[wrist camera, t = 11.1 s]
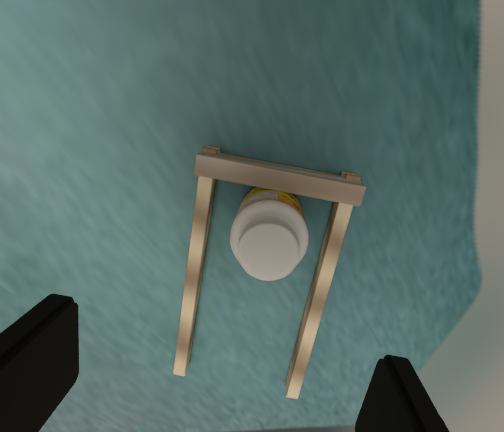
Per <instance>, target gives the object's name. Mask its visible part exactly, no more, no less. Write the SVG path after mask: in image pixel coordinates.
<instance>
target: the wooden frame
mask: <svg viewBox="0 0 504 432" xmlns="http://www.w3.org/2000/svg"><path fill="white" fill-rule="evenodd" d="M220 149H221V148H218V147H212V146H205V147H203V148H202V152H201V153H199V154H196V160H195V168H194V175H198V176H199V179H198V187H197V194H196V202H195V210H194V218H193V225H192V233H191V241H190V249H189V256H188V264H187V272H186V280H185V287H184V295H183V303H182V311H181V319H180V326H179V334H178V342H177V350H176V357H175V365H174V373H173V374H175V375H180V376H185V373H186V370H187V368H188V365H189V361H190V355H191V348H192V341H193V334H194V327H195V320H196V313H197V307H198V300H199V293H200V286H201V279H202V272H203V266H204V259H205V252H206V245H207V238H208V231H209V224H210V218H211V211H212V204H213V197H214V190H215V183H216V179H219V180H224V181H229V182H234V183H239V184H245V185H250V186H255V187H260V188H266V189H271V190H276V191H281V192H286V193H292V194H297V195H302V196H307V197H313V198H318V199H323V200H328V201H333V202H334V203H333V207H332V210H331V214H330V218H329V222H328V225H327V229H326V233H325V237H324V240H323V244H322V248H321V252H320V255H319V259H318V263H317V267H316V270H315V274H314V278H313V282H312V285H311V289H310V293H309V297H308V300H307V304H306V308H305V312H304V315H303V319H302V323H301V327H300V330H299V334H298V338H297V342H296V345H295V349H294V353H293V357H292V360H291V364H290V368H289V372H288V375H287V379H286V397H289V398H294V399H298V396H299V392H300V389H301V385H302V382H303V378H304V375H305V371H306V368H307V364H308V361H309V357H310V354H311V351H312V347H313V344H314V340H315V337H316V333H317V330H318V326H319V323H320V319H321V316H322V312H323V309H324V305H325V302H326V298H327V295H328V291H329V288H330V284H331V281H332V277H333V274H334V270H335V267H336V263H337V260H338V256H339V253H340V249H341V246H342V242H343V239H344V236H345V232H346V229H347V225H348V222H349V218H350V215H351V211H352V208H353V205H354V206H360V207H361V204H362V200H363V197H364V194H365V190H366V186H364V185H363V184H362V183H360V180H361V177H360V176H358V175H357V174H355V173H349V172H344V171H342V173H341V175H336V174H330V173H325V172H320V171H314V170H309V169H304V168H299V167H293V166H288V165H283V164H278V163H272V162H267V161H262V160H257V159H251V158H246V157H241V156H236V155H230V154H225V153H220Z"/></svg>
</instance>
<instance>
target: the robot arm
mask: <svg viewBox="0 0 504 432" xmlns="http://www.w3.org/2000/svg"><path fill="white" fill-rule="evenodd" d="M78 374H79V338H78V305H77V303H74V300H73V298H72V297H69V296H63V295H58V294H50V295H49V296H47V297H46V298H45V299H43V300H42V301H41V302H40V303H38V304H37V305H36V306H34V307H33V308H32V309H31V310H29V311H28V312H27V313H26V314H24V315H23V316H22V317H21V318H19V319H18V320H17V321H16V322H14V323H13V324H12V325H10V326H9V327H8V328H7V329H5V330H4V331H3V332H2V333H0V432H39V430H40V429H41V428H42V426H43V425H44V424H45V422H46V421H47V420H48V418H49V417H50V416H51V414H52V413H53V412H54V410H55V409H56V408H57V406H58V405H59V404H60V402H61V401H62V400H63V398H64V397H65V395H66V394H67V393H68V391H69V390H70V389H71V387H72V386H73V385H74V383H75V382H76V380H77V377H78ZM355 432H449V430H448V428H447V427H446V425H445V423H444V421H443V420H442V418H441V417H440V415H439V414H438V412H437V410H436V408H435V407H434V405H433V403H432V401H431V399H430V397H429V396H428V394H427V392H426V390H425V388H424V387H423V385H422V383H421V381H420V379H419V377H418V376H417V374H416V372H415V370H414V368H413V367H412V365H411V363H410V361H409V360H408V359H407V358H403V357H398V356H392V355H386V356H385V357H384V359H379V360H378V362H377V365H376V368H375V370H374V373H373V376H372V379H371V382H370V384H369V387H368V390H367V393H366V396H365V398H364V401H363V404H362V407H361V410H360V412H359V415H358V418H357V421H356V424H355Z"/></svg>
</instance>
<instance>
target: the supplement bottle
mask: <svg viewBox="0 0 504 432" xmlns="http://www.w3.org/2000/svg"><path fill="white" fill-rule="evenodd" d="M230 244H231V248H232V251H233V253H234V255H235V257H236V259H237V260H238V261H239V262H240V264H241V266H242V267H243V269H244V270H245V271H246V272H247V273H248V274H249V275H251V276H253V277H255V278H257V279H260V280H264V281H274V280H278V279H281V278H284V277H285V276H287V275H288V274H290V273H291V272H292V271H293V270H294V268H295V267H296V265H297V264H298V263H299V262H300V261H301V260H302V258H303V257H304V255H305V253H306V250H307V247H308V229H307V226H306V223H305V219H304V216H303V213H302V210H301V206H300V203H299V201H298V199H297V197H296V195H295V194H292V193H286V192H281V191H276V190H271V189H266V188H260V187H254V188H252V189H251V190H250V191H249V192H248V193H247V194H246V195H245V197H244V199H243V201H242V203H241V205H240V208H239V210H238V212H237V215H236V217H235V219H234V222H233V224H232V227H231V232H230Z"/></svg>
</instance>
